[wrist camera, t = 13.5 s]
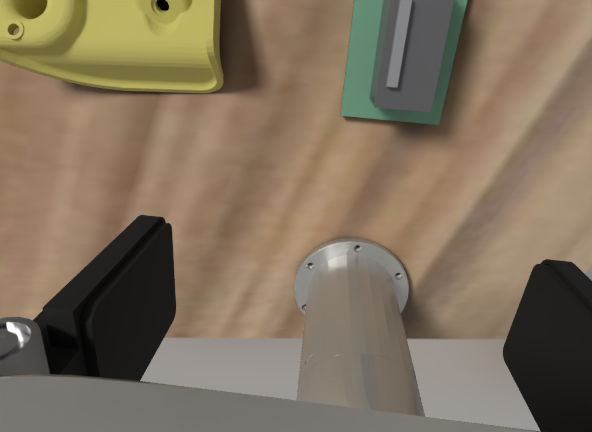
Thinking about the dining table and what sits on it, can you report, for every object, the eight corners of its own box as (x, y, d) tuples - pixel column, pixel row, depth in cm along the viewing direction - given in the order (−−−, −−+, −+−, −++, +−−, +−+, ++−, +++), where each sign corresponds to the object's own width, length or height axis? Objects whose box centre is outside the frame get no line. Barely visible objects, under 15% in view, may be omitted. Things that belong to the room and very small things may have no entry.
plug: (418, 102, 37) (432, 113, 32) (369, 98, 37) (375, 108, 32) (441, -19, 33) (462, -28, 28) (386, -23, 33) (396, -32, 28)
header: (436, 122, 38) (449, 134, 34) (340, 113, 39) (341, 123, 35) (469, -26, 33) (488, -34, 29) (358, -35, 34) (361, -44, 30)
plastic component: (216, -65, 32) (211, 63, 31) (231, -10, 39) (227, 94, 39) (-41, -74, 32) (-48, 54, 31) (22, -18, 39) (17, 87, 39)
